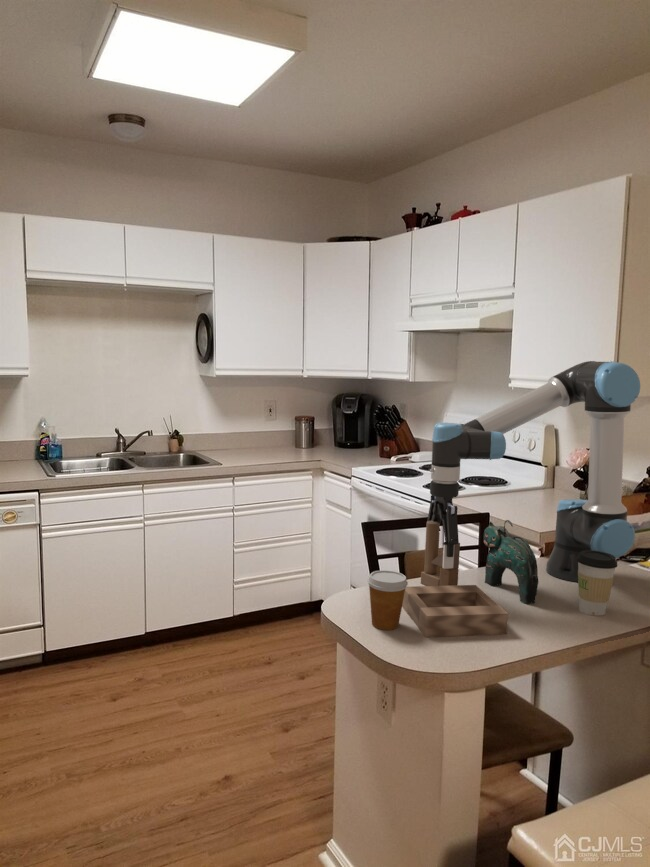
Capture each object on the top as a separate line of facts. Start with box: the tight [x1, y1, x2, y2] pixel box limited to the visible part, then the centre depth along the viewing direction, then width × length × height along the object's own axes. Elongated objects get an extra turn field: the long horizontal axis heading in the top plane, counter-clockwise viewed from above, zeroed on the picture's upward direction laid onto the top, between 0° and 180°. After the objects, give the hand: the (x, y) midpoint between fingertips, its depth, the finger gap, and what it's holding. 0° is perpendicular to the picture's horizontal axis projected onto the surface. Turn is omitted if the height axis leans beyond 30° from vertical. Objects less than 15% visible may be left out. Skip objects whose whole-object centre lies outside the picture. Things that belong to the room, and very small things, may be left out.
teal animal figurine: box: [483, 519, 539, 605], centre depth 183 cm, size 20×6×20 cm, turn 23°
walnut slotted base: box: [402, 584, 509, 638], centre depth 163 cm, size 20×19×5 cm
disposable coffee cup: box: [367, 569, 409, 631], centre depth 157 cm, size 10×10×12 cm
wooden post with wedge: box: [420, 521, 461, 586], centre depth 179 cm, size 4×11×18 cm, turn 35°
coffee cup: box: [577, 550, 619, 617], centre depth 171 cm, size 10×10×15 cm
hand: (440, 561), depth 179 cm, fingers closed on wooden post with wedge, 10 cm apart
